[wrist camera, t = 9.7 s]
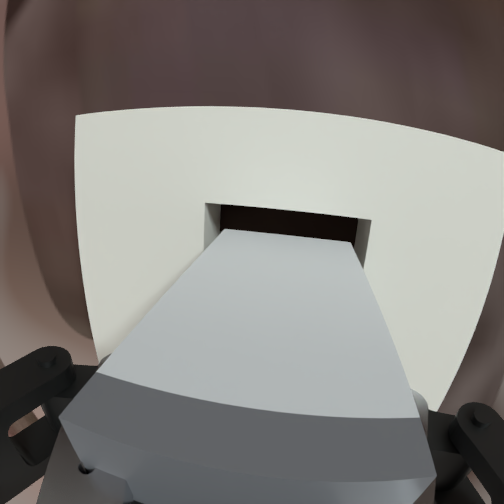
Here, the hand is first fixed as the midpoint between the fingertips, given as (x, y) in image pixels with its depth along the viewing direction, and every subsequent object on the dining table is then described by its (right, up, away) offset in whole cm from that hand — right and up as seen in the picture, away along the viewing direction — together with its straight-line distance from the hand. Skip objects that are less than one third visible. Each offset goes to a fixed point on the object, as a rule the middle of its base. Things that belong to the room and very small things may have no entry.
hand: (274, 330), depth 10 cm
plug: (0, +1, +2) cm, 2 cm away
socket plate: (+1, +1, +4) cm, 5 cm away
